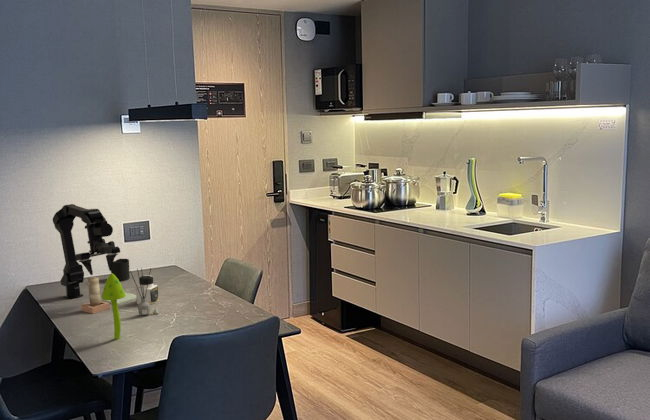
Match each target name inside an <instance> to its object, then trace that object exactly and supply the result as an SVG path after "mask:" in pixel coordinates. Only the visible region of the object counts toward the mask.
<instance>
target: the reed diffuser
mask: <svg viewBox="0 0 650 420" xmlns="http://www.w3.org/2000/svg"><path fill="white" fill-rule="evenodd" d="M136 269H137V271H136V272H137V275H138V281H140V277H141V276H142V284H143V276H144V275H143V274H141V276H140V273H139V269H138V268H136ZM151 271H152V268H151V267H150V270H149V273H148V275H149V277H150V276H151ZM141 272H143V268H142V267H141ZM129 273H130V274H131V275H130V276H132V279H133V281H134V284H135V286H136V287H135V288H136V289H138V288H139V287H140V286H141V282H140V285H139V287H138V285H137V282H136V279H135V278H134V276H133V273H132V270H129ZM148 282H149V278H148ZM147 287H148V284H147ZM138 291H139V290H138ZM141 291H142V287H141ZM146 292H147V289H146ZM139 294H140V292H139ZM140 296H141V295H140ZM142 296H143V297H141V303H140V304H137V310H138V315H140V316H147V315H150V314H151V305H150V304H149V303H148V302H146V294H145V297H144V289H143V292H142ZM159 312H160V311H159V309H158V308H155V309H154V310H153V311H152V313H153V315H158V314H159Z"/></svg>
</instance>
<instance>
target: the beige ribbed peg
mask: <svg viewBox="0 0 650 420" xmlns="http://www.w3.org/2000/svg"><path fill="white" fill-rule="evenodd" d="M100 288H101V287H100V277H98V276H90V277H88V278H87V289H88V299H89V300H88V301H89V303H90V306H92V307H95V306H98V305H101V299H102V298H101V290H100Z"/></svg>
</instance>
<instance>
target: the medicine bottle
mask: <svg viewBox="0 0 650 420" xmlns="http://www.w3.org/2000/svg"><path fill="white" fill-rule="evenodd" d="M139 277H140V281H139V280H138V281H139V282H138V283H139V287H138V289H137V288H135V295H136V304H137V305H139V304H140V303H141V297H143V296H142V292H143V289H144V297H145V294H146V302H148V303H149V304H150V306H151V305H153V304H154V303H156V302H159V300H160V299H159V286H158V285H157V284H154V283H155V282H154V276H152V275H150V277H149V274H148V275H147V274H146V275H143V284H142V275H141V276H139ZM148 278H149V282H148ZM140 282H141V286H140ZM147 284H148V287H147ZM141 287H142V291H141ZM146 289H147V292H146ZM138 290H139V291H138ZM139 292H140V294H139ZM140 295H141V296H140Z"/></svg>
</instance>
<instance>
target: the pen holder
mask: <svg viewBox="0 0 650 420" xmlns="http://www.w3.org/2000/svg"><path fill="white" fill-rule="evenodd" d="M111 273H113V274H114V275H115V276H116V277H117V278H118V280H119V282H125V281H128V280H129V279H130V277H131V275H130V274H131V273H130V259H129V258H118V259H116V260H114V261H113V266H112V271H110V274H111Z"/></svg>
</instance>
